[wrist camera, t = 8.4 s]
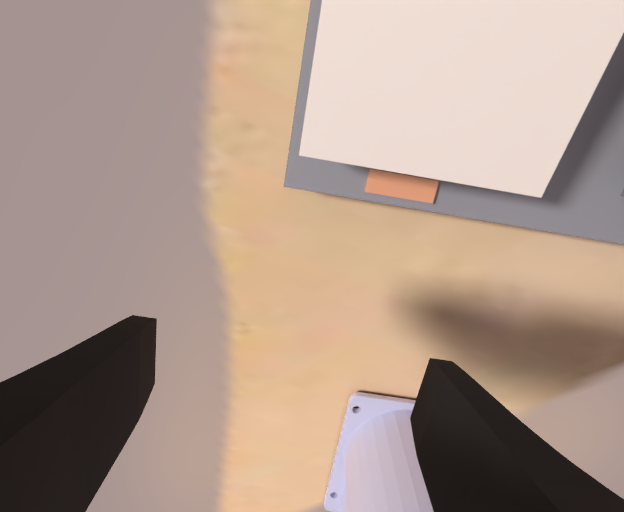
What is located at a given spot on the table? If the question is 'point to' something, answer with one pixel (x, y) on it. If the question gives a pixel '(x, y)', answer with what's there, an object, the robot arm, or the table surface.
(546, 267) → the table surface
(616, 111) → the switch console
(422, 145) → the rocker
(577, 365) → the table surface
